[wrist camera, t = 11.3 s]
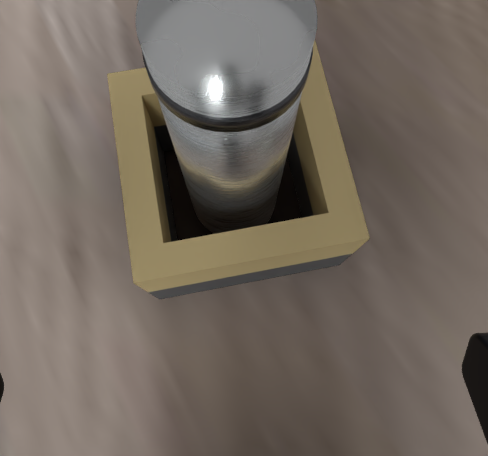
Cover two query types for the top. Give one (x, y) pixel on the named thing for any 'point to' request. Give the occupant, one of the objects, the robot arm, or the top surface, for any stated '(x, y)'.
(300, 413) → the top surface
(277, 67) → the metal tumbler
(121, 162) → the collar block
